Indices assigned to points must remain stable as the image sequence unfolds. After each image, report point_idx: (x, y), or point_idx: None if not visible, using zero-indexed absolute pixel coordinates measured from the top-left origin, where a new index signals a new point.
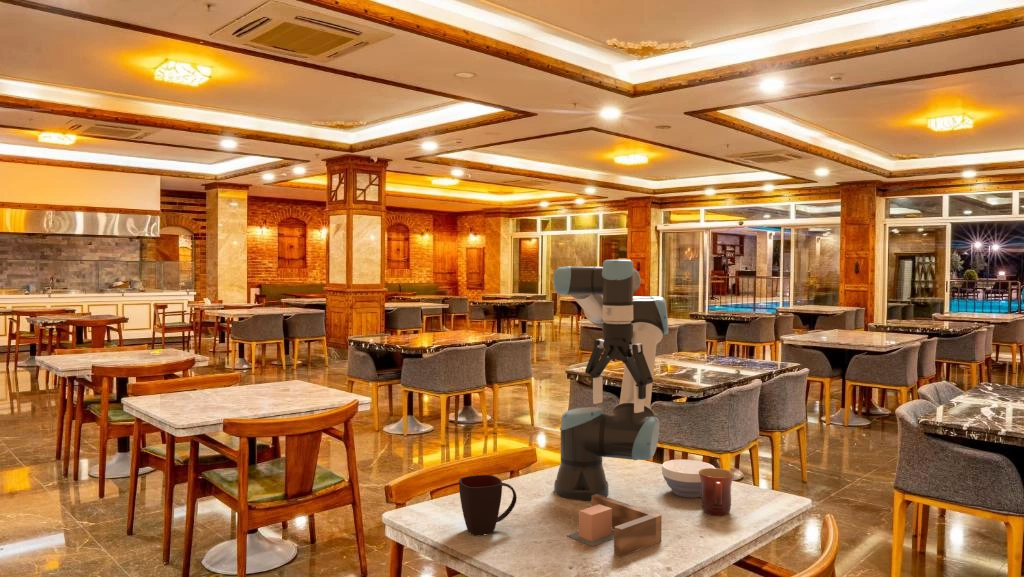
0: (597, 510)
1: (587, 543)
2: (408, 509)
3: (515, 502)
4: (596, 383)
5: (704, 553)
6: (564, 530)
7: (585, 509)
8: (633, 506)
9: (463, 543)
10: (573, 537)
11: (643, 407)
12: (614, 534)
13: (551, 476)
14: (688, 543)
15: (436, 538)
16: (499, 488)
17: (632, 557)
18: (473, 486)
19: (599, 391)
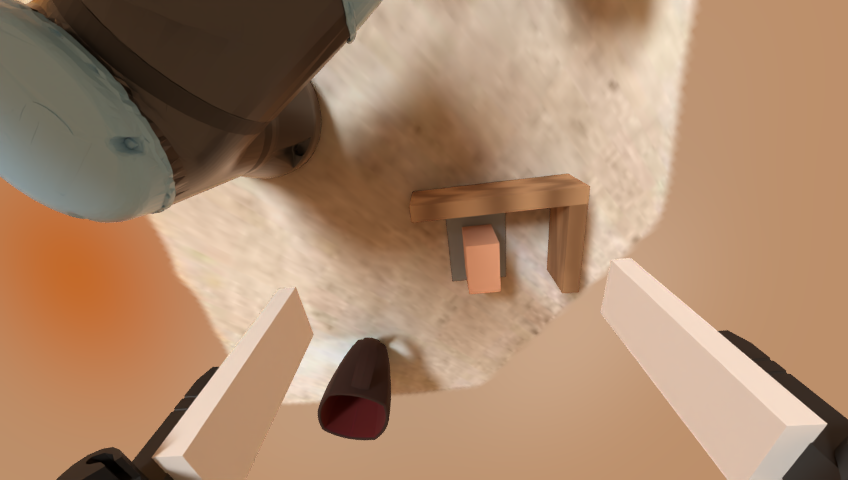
0: (490, 270)
1: None
2: None
3: (378, 345)
4: (249, 447)
5: (657, 150)
6: (430, 269)
7: (472, 282)
8: (515, 197)
9: (396, 380)
10: (464, 278)
11: (646, 275)
12: (558, 286)
13: None
14: (611, 139)
15: None
16: (387, 402)
17: None
18: (327, 398)
19: (272, 362)
